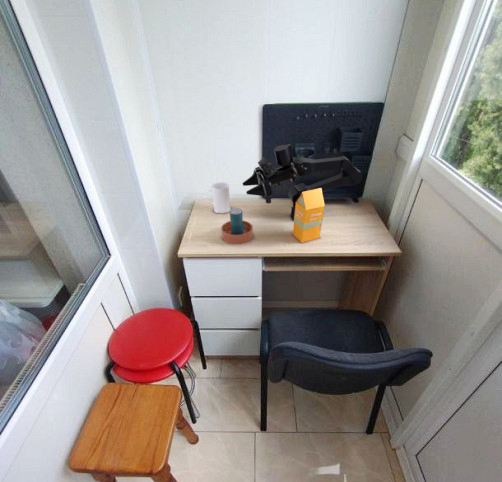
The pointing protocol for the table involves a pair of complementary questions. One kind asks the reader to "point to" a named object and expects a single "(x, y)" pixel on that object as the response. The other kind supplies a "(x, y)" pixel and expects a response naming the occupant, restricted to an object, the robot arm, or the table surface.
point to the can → (236, 221)
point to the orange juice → (308, 215)
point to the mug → (220, 197)
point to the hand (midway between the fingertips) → (244, 188)
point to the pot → (237, 239)
